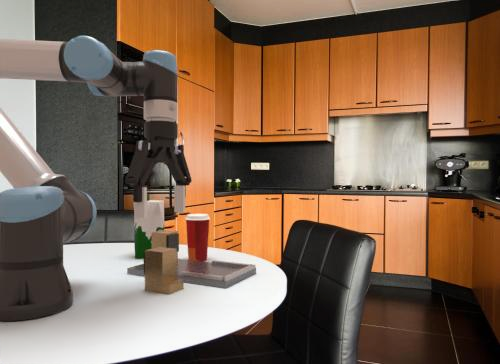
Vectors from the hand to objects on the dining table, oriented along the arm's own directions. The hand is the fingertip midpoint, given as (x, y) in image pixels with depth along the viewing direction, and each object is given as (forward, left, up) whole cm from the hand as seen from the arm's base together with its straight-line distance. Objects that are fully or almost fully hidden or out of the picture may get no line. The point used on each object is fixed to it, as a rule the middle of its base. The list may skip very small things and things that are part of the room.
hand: (161, 215), depth 90 cm
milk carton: (+27, +28, -17) cm, 42 cm away
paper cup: (+30, +11, -17) cm, 36 cm away
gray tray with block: (+15, +2, -17) cm, 23 cm away
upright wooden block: (0, 0, -17) cm, 17 cm away
